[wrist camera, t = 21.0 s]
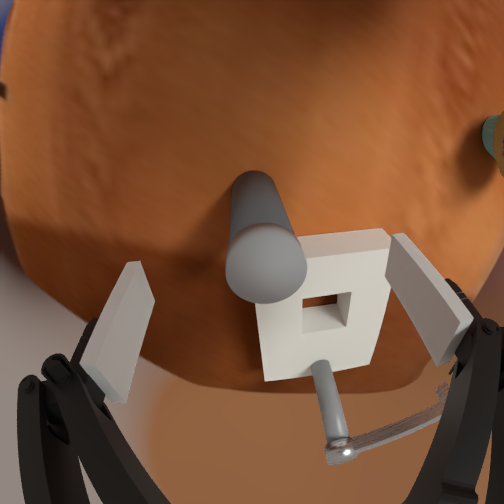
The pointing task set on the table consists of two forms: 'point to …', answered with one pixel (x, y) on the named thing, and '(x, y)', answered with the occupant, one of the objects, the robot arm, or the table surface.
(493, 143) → the cupcake
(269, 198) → the plug
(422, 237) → the table surface
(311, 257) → the socket block
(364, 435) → the clip
